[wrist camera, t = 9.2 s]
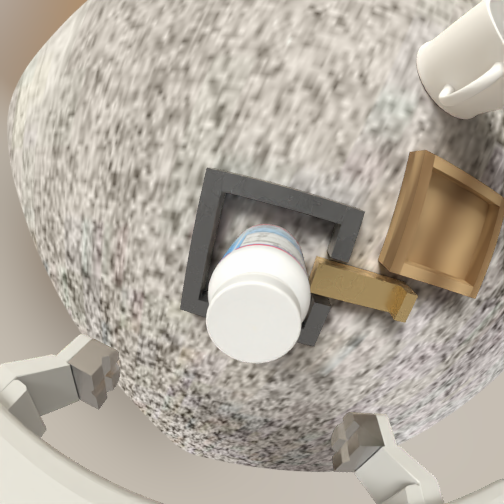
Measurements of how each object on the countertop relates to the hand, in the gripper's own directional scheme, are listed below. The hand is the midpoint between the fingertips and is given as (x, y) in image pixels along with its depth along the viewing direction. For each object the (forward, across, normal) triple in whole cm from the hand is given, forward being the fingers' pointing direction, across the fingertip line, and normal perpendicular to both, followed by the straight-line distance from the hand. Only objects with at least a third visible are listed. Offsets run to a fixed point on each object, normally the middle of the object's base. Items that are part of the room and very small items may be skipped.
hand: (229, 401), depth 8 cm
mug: (+16, -12, -21) cm, 29 cm away
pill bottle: (+16, 0, 0) cm, 16 cm away
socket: (+16, 0, 0) cm, 16 cm away
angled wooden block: (+16, -9, 0) cm, 18 cm away
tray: (+16, -15, -8) cm, 23 cm away
